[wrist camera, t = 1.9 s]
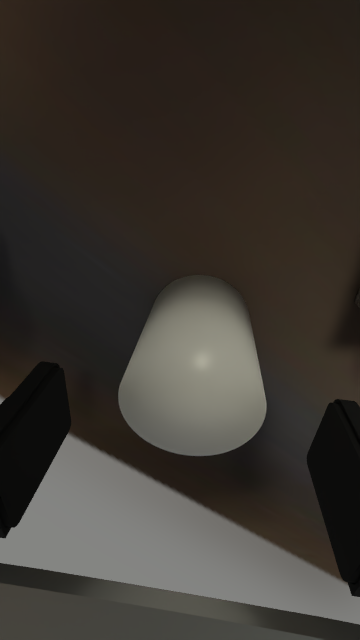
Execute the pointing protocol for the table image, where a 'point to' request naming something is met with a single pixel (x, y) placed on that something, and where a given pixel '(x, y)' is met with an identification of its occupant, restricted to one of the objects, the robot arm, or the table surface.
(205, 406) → the white rounded cylinder
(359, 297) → the grey fixture tray
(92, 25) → the table surface
